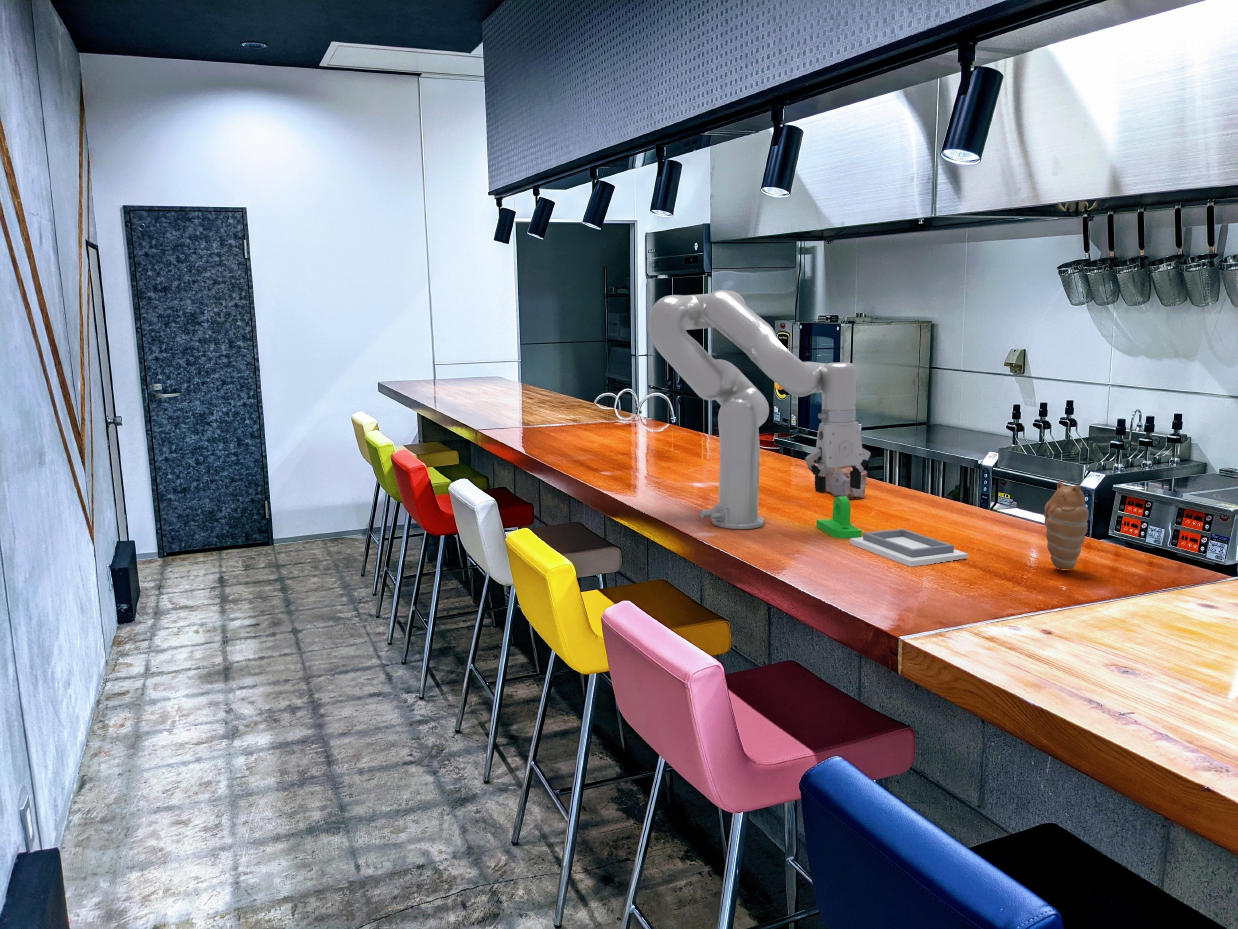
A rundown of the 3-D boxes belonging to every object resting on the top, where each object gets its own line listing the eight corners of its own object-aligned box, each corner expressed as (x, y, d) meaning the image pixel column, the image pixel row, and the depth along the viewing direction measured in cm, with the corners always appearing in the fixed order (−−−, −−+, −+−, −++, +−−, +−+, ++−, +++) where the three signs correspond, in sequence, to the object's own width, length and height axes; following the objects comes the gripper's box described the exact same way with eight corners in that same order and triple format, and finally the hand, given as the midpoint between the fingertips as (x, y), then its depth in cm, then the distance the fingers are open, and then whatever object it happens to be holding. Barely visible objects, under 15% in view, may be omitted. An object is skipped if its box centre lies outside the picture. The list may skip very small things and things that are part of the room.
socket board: (910, 566, 189) (911, 553, 189) (849, 543, 208) (850, 531, 207) (967, 559, 195) (968, 546, 195) (903, 537, 213) (904, 526, 213)
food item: (870, 499, 256) (872, 464, 254) (845, 501, 253) (847, 465, 251) (842, 490, 268) (843, 456, 267) (818, 491, 266) (819, 457, 264)
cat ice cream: (1030, 567, 190) (1038, 480, 187) (1060, 563, 192) (1068, 477, 189) (1065, 578, 181) (1073, 488, 178) (1095, 575, 184) (1104, 485, 181)
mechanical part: (816, 527, 223) (817, 495, 222) (839, 526, 224) (841, 494, 223) (836, 540, 212) (838, 505, 210) (861, 539, 213) (863, 504, 211)
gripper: (816, 421, 206) (816, 496, 209) (879, 415, 213) (878, 489, 215) (797, 418, 213) (797, 491, 216) (859, 413, 220) (858, 484, 222)
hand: (837, 490), depth 216 cm, fingers open, 9 cm apart
